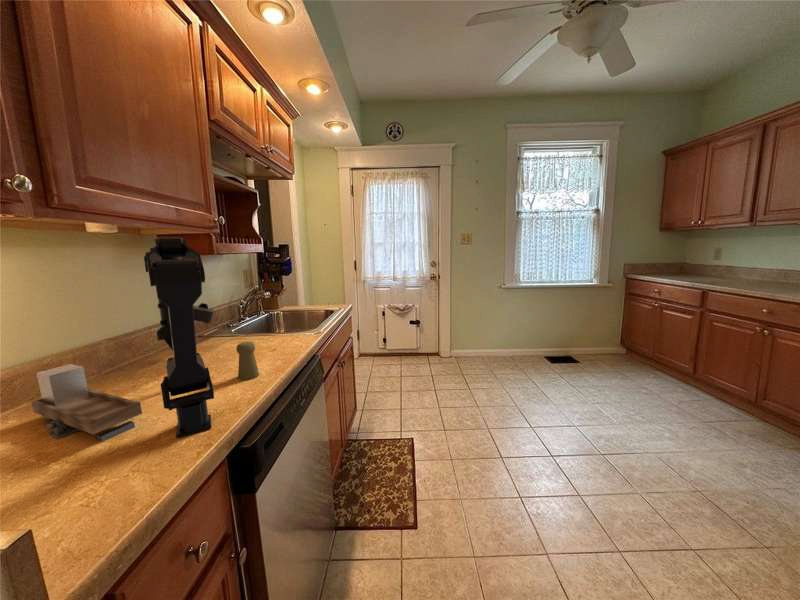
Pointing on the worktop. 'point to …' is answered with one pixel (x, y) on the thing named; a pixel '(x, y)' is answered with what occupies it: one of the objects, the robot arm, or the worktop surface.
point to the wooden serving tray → (91, 411)
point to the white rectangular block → (63, 385)
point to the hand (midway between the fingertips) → (180, 357)
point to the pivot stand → (67, 430)
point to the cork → (247, 361)
